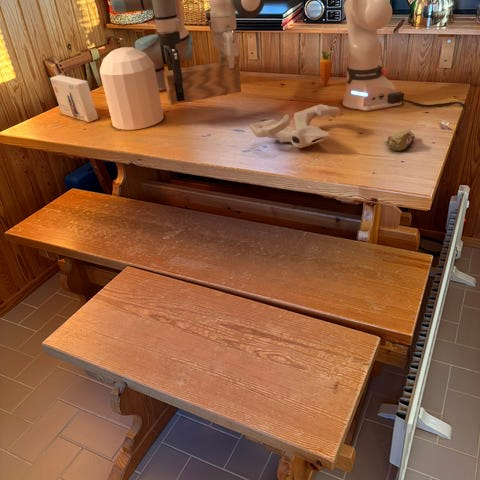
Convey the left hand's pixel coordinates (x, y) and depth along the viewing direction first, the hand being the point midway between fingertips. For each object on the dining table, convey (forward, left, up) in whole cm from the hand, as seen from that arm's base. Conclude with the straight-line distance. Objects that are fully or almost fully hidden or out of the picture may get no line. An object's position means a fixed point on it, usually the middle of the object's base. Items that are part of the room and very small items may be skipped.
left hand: (178, 98), depth 172 cm
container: (-20, -10, -11) cm, 25 cm away
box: (+3, +10, -1) cm, 10 cm away
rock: (+69, +43, -11) cm, 81 cm away
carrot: (+4, +70, -11) cm, 71 cm away
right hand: (+5, +19, +9) cm, 22 cm away
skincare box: (-44, -27, -11) cm, 53 cm away
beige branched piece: (+46, +21, -11) cm, 51 cm away
